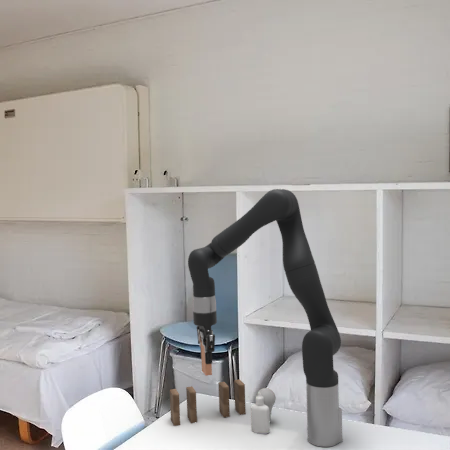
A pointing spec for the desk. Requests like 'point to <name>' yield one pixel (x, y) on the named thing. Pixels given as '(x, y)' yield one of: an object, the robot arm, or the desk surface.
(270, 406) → the lightbulb
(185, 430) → the desk surface
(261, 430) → the eye dropper bottle
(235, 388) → the domino
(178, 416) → the domino
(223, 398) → the domino
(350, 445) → the desk surface
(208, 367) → the domino
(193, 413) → the domino
